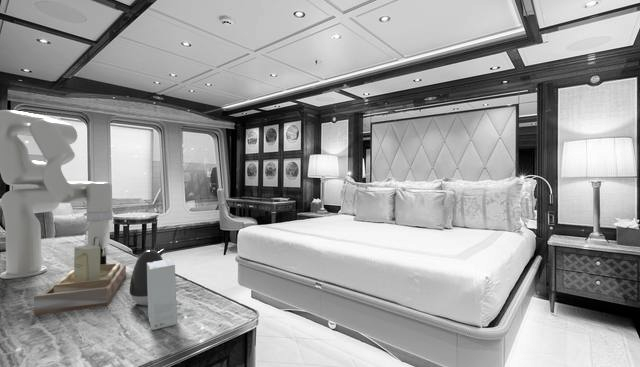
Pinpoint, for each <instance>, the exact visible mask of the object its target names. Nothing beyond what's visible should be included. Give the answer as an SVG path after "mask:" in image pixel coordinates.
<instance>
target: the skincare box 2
mask: <svg viewBox="0 0 640 367" xmlns="http://www.w3.org/2000/svg"><path fill="white" fill-rule="evenodd" d="M176 283H177V282H176V265H175V263H174V262H173V260H172V259H170V258H167V259H163V260H160V261H154V262H148V263H147V289H148V305H147V309H148V310H147V311H148V313H147V316H148V323H149V325H150V327H151V328H150V329H151V331H154V330H158V329H163V328H169V327H173V326H177V325H178V308H177V307H178V306H177V284H176Z"/></svg>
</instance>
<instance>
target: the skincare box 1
mask: <svg viewBox="0 0 640 367" xmlns="http://www.w3.org/2000/svg"><path fill="white" fill-rule="evenodd" d="M73 254H74V258H73V260H74V262H73V269H74V282H80V281H90V280H99V279H100V246H93V245H88V244H85V245H80V246H75V247H74V253H73Z"/></svg>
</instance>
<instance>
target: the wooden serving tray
mask: <svg viewBox="0 0 640 367" xmlns="http://www.w3.org/2000/svg"><path fill="white" fill-rule="evenodd" d="M126 268H127V267H126V264H122V265H120V269H119V270H118V272H117V273H116V274H115V276H114V277H113V279H112V280H111V281H110V283H109V284H108V285H107V287H103V288H94V289H86V290H77V291H68V292H59V293H54V285H55V284H56V283H57V282H58V281H59V280H61V279H62V278H63V277H64V276H66V275H67V274H68V273H69V272H71V271H72V270H73V269H71V270H69V271H68V272H67V273H66V274H65V275H64V276H62V277H61V278H60V279H59V280H57V281H56V282H55V283H54V284H53V285H51V286H50V287H49V288H48V289H46V290H45V291H44V292H43V293H40V294H36V295H34V297H33V308H34V309H33V313H34V316H40V315H48V314H55V313H56V314H57V313H63V312H71V311H78V310H84V309H93V308H94V309H95V308H100V307H107V306H108V305H109V303H110V302H111V300H112V299H113V297H114V296H115V293H116V292H117V290H118V288H119V287H120V286H121V284H122V283H123V281H124V279H125V278H126V276H127V274H126V271H127V269H126ZM119 285H120V286H119Z"/></svg>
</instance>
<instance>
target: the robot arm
mask: <svg viewBox="0 0 640 367" xmlns="http://www.w3.org/2000/svg"><path fill="white" fill-rule="evenodd" d="M18 135H21V136H26V137H27V136H28V137H32V138H33V139H34V142H35V143H36V145H37V147H38V149H39V150H40V152H41V155H42V156H43V158H44V160H45V161H46V162H45V161H39V160H32V159H31V157H30V155H29V150H28V147H27V146H26V144H25V143H24V141H23V140H21V138H19V137H18ZM77 139H78V131H77V130H76V128H75V127H74V126H73V125H71V123H68V122H65V121H61V120H58V119H54V118H51V117H48V116H45V115H41V114H40V115H39V114H34V113H29V112H25V111H18V110H11V109H1V110H0V176H1V179H2V181H3V183H5V184H6V185H9V186H14V187H15V186H32V187H33V188H30V187H29V188H17V189H12V190H9V191H7V192H4V194H3V195H2V196H1V199H0V206H1V211H2V213H3V218H4V226H5V228H4V229H5V231H4V232H5V266H6V267H5V271H3V272H1V273H0V278H1V279H4V280H5V279H7V280H11V279H23V278H28V277H33V276H37V275H40V274H43V273H45V272H46V271H48V267H47V266H45V265H42V262H43V257H42V228H41V222H40V220H39V219H38V218H37V216H36V215H35V214H41V213H48V212H53V211H55V210H56V209H57V208H58V207H59V206H60V204H75V203H86V222H88V229H87V245H93V246H100V264H107V247H108V246H109V245H110V241H111V240H110V234H111V232H110V230H111V229H110V221H112V220H113V186H112V184H111V182H107V181H96V182H95V181H82V180H81V181H77V180H76V181H68V180H67V178H66V177H65V175H64V174H63V170H62V166H64V165H67V164H68V163H70V162H71V161H73V160H74V159H75V154H76V153H75V152H74V150H73V149H72V146H71V145H73V144H74V143H75V142H76V141H77Z"/></svg>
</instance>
